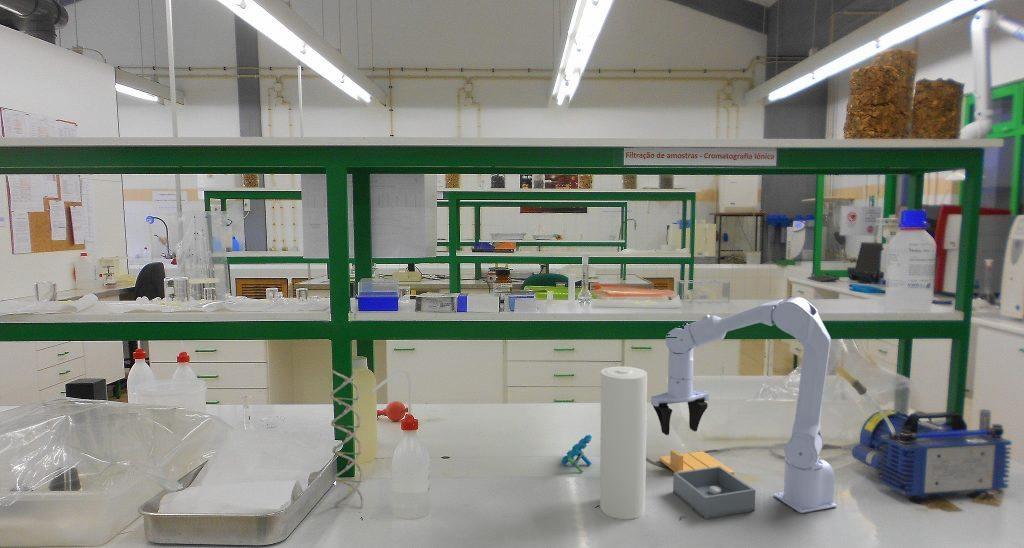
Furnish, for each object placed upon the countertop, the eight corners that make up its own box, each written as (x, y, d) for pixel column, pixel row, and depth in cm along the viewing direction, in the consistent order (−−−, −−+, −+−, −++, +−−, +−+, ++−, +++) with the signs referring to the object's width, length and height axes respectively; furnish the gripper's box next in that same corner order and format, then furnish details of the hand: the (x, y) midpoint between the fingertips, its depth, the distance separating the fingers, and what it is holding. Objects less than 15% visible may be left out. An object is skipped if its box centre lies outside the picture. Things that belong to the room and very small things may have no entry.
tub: (719, 484, 131) (719, 466, 131) (754, 510, 120) (755, 490, 119) (673, 492, 128) (673, 472, 127) (704, 519, 116) (705, 498, 116)
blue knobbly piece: (567, 447, 149) (592, 426, 145) (583, 464, 148) (609, 444, 144) (552, 469, 140) (578, 448, 135) (569, 488, 139) (596, 467, 134)
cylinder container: (633, 494, 127) (635, 362, 124) (652, 516, 118) (655, 374, 115) (593, 499, 125) (594, 365, 122) (610, 521, 116) (611, 377, 113)
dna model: (370, 501, 125) (365, 367, 122) (356, 516, 119) (351, 375, 115) (342, 498, 126) (336, 366, 123) (327, 513, 120) (321, 374, 117)
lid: (702, 456, 147) (703, 438, 147) (734, 477, 135) (734, 457, 135) (659, 462, 144) (659, 443, 144) (687, 485, 132) (688, 464, 131)
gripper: (697, 369, 142) (696, 422, 143) (644, 374, 138) (644, 429, 139) (714, 377, 135) (713, 432, 136) (660, 382, 131) (659, 439, 132)
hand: (679, 431), depth 137 cm, fingers open, 7 cm apart
